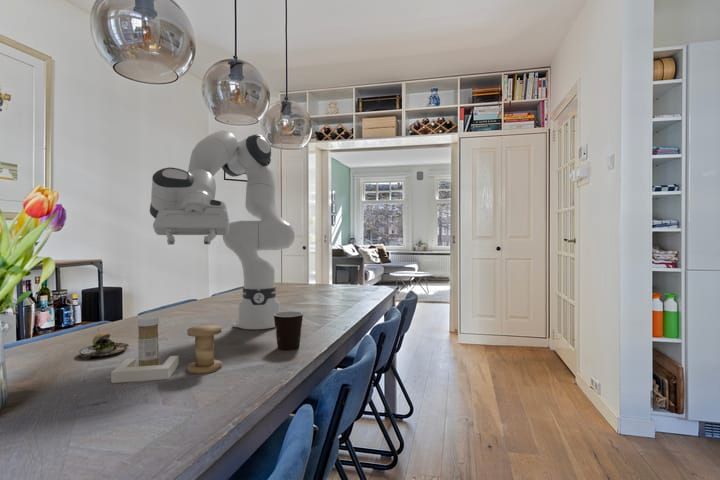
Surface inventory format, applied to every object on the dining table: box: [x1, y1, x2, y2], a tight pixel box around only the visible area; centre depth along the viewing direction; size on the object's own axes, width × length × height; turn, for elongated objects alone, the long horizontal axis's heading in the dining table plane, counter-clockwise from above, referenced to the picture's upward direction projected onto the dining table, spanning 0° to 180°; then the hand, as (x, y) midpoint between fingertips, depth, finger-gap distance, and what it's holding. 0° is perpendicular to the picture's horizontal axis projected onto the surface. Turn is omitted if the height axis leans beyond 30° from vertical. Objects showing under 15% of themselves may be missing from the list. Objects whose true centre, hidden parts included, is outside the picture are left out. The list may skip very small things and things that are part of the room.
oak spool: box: [186, 324, 223, 375], centre depth 99 cm, size 8×8×10 cm
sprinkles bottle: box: [137, 315, 160, 366], centre depth 97 cm, size 5×5×14 cm
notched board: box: [110, 355, 179, 384], centre depth 95 cm, size 10×12×2 cm
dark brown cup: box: [274, 310, 304, 351], centre depth 120 cm, size 12×9×10 cm
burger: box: [78, 329, 130, 361], centre depth 112 cm, size 12×12×8 cm
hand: (188, 243), depth 109 cm, fingers open, 8 cm apart
